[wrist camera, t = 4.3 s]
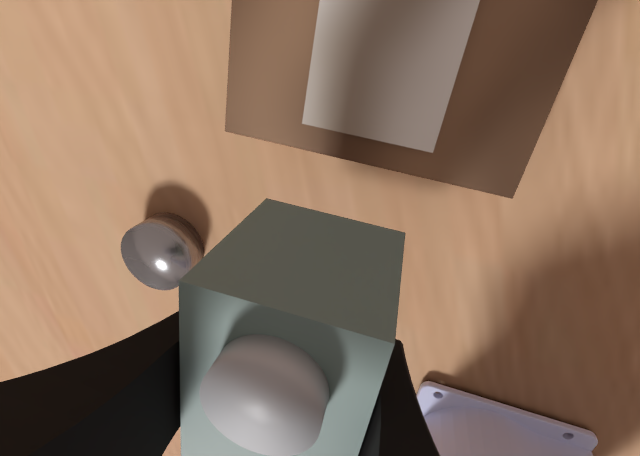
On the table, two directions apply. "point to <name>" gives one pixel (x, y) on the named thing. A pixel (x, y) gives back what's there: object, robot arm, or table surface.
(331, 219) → the block
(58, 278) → the table surface
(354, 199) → the table surface
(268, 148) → the table surface
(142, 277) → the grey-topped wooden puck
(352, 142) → the stand
